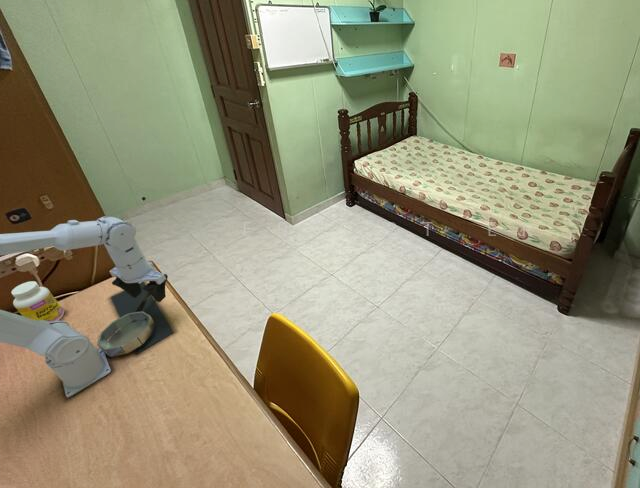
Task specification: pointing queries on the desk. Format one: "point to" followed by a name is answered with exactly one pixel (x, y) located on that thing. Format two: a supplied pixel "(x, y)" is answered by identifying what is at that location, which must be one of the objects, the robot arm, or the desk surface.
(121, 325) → the frying pan
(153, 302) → the mat
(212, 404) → the desk surface
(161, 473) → the desk surface
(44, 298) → the supplement bottle
